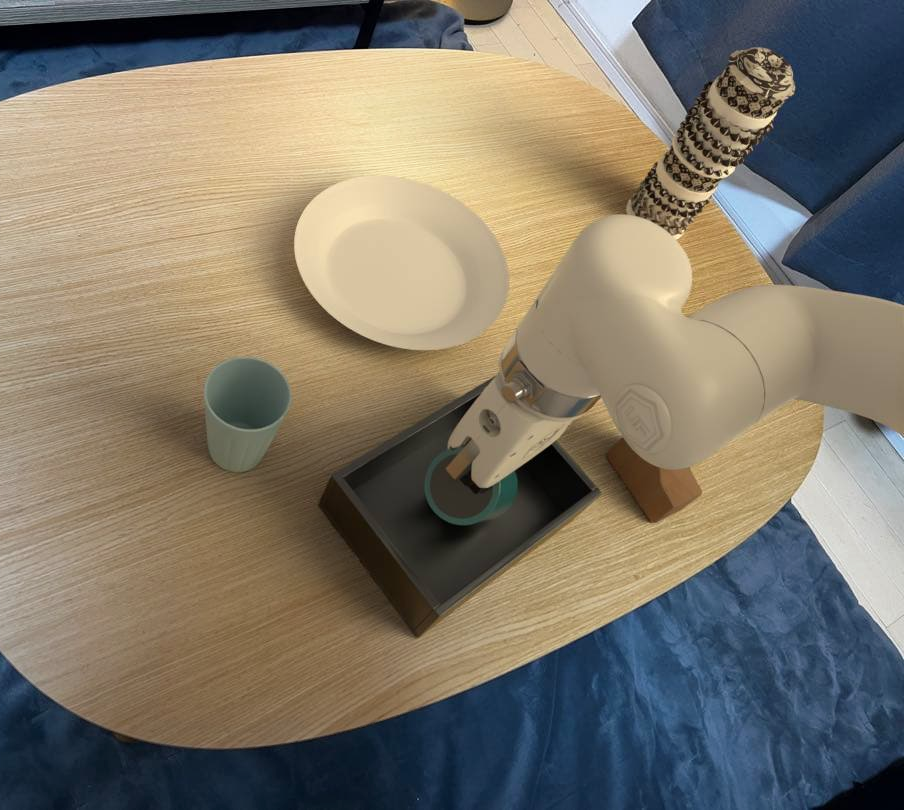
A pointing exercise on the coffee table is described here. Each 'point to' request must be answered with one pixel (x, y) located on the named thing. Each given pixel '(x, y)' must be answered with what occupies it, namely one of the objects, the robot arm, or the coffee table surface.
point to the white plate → (401, 262)
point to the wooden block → (653, 483)
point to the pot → (465, 494)
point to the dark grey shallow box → (431, 538)
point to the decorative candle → (714, 138)
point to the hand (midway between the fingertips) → (470, 477)
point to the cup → (244, 410)
